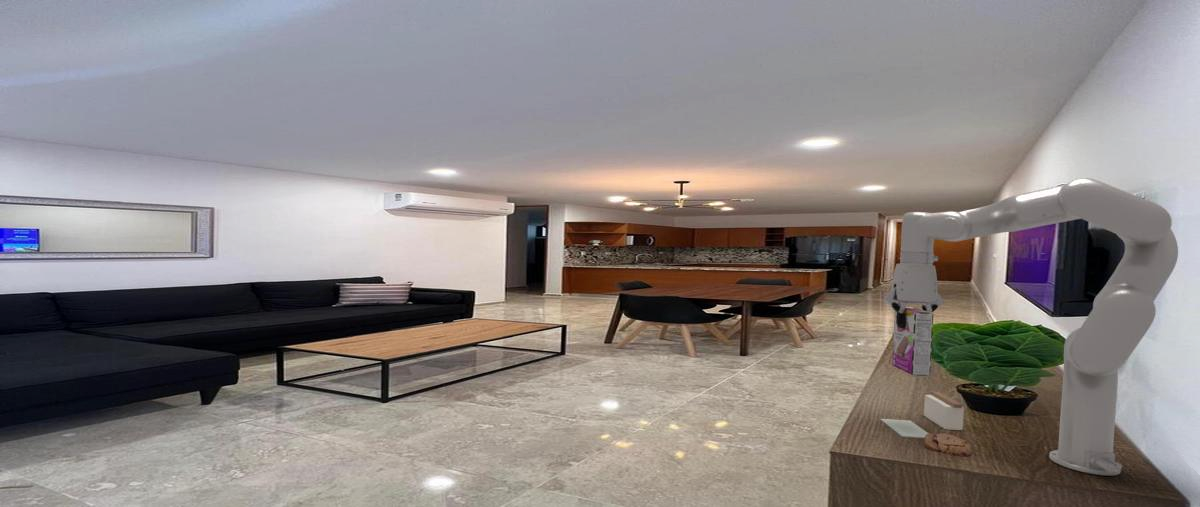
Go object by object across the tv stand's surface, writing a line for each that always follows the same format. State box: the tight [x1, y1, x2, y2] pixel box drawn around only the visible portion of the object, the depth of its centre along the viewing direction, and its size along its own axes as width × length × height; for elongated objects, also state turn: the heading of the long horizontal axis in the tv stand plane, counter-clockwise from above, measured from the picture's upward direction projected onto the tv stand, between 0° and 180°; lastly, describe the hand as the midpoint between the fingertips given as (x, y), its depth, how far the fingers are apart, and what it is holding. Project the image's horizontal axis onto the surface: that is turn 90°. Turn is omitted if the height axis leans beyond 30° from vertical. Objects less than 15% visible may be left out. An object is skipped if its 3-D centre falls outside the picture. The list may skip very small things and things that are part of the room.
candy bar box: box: [891, 306, 934, 377], centre depth 155 cm, size 11×5×16 cm, turn 179°
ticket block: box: [921, 390, 965, 431], centre depth 162 cm, size 13×5×7 cm, turn 175°
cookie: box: [923, 432, 973, 457], centre depth 142 cm, size 10×11×3 cm
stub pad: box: [879, 418, 930, 439], centre depth 155 cm, size 14×8×1 cm, turn 175°
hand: (912, 327), depth 155 cm, fingers closed on candy bar box, 5 cm apart
